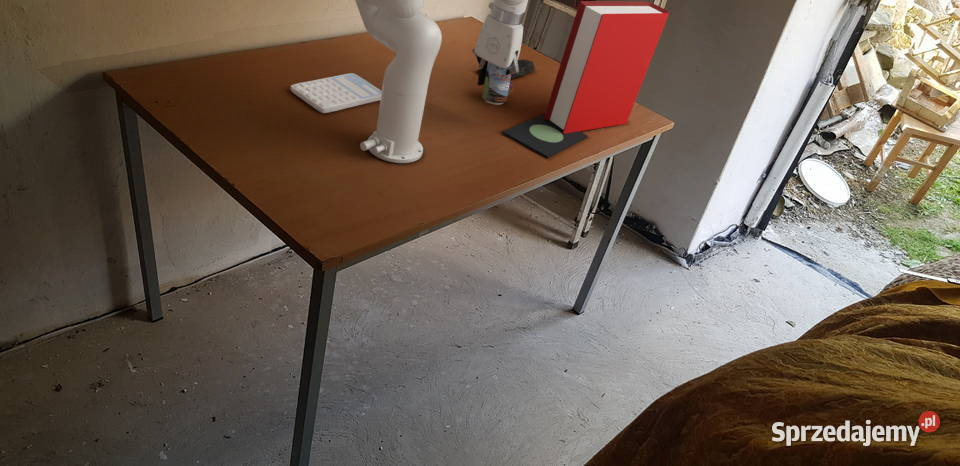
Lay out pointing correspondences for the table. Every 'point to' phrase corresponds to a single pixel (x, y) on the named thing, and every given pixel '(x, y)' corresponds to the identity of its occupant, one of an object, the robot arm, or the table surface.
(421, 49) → the robot arm
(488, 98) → the beverage can
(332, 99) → the calculator
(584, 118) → the book
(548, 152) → the desk mat
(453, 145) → the table surface
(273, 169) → the table surface
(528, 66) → the wood
